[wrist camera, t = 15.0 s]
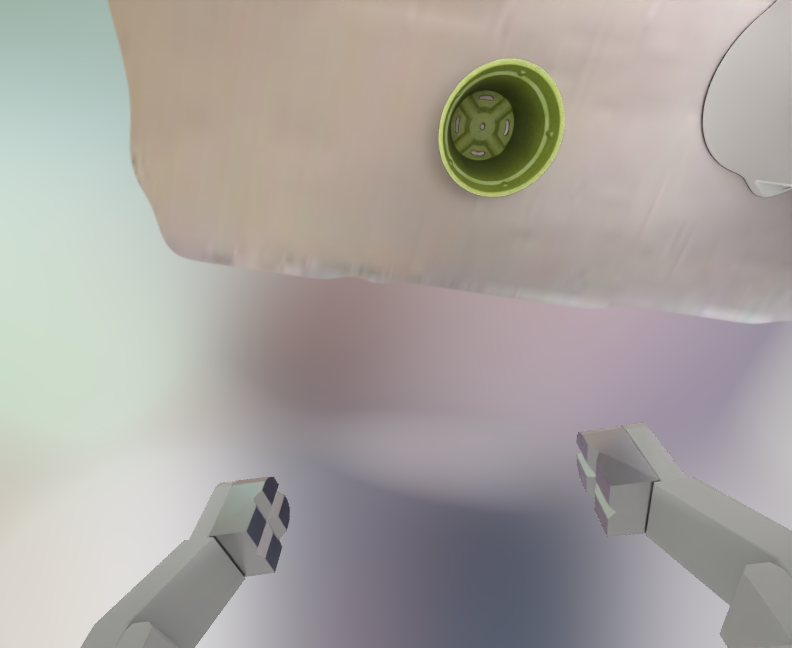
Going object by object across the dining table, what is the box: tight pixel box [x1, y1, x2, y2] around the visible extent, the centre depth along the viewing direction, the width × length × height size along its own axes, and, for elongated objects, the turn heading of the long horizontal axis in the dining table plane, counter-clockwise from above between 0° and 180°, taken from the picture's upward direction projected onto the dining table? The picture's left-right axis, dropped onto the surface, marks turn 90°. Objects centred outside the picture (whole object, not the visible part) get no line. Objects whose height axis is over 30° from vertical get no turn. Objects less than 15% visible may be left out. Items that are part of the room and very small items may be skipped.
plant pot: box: [438, 58, 565, 197], centre depth 33 cm, size 9×9×9 cm
